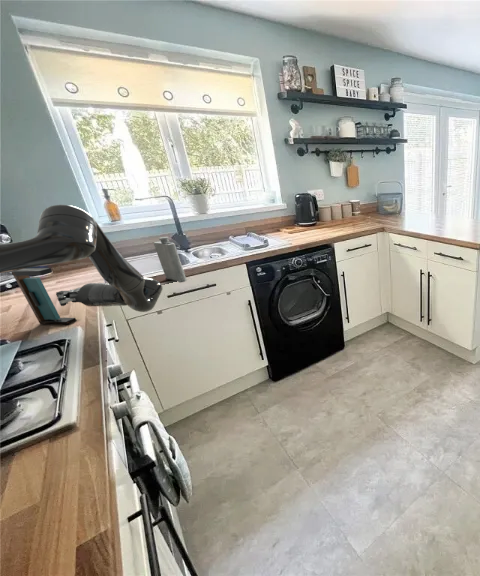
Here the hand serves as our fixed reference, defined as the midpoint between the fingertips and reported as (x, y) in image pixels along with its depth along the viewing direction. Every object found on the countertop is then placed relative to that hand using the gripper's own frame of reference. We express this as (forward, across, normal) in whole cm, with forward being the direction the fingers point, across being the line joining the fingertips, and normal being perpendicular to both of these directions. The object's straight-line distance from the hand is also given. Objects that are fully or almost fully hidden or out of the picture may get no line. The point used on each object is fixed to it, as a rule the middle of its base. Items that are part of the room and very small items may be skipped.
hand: (59, 294), depth 102 cm
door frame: (+7, 0, +11) cm, 13 cm away
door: (+8, 0, +9) cm, 12 cm away
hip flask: (-3, -43, +11) cm, 45 cm away
